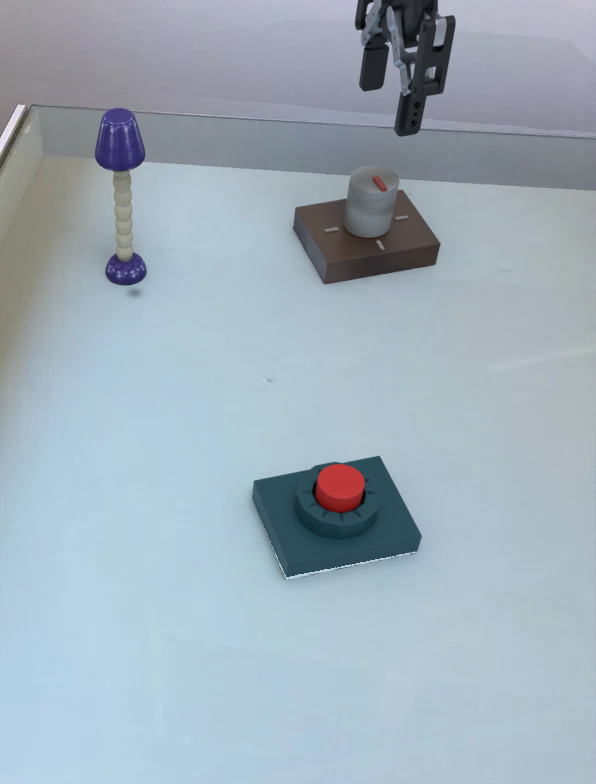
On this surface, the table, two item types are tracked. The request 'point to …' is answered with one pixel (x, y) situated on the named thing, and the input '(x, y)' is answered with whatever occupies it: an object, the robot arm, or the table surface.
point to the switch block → (334, 520)
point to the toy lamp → (121, 188)
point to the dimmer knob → (370, 201)
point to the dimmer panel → (364, 241)
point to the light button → (339, 488)
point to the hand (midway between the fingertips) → (387, 110)
